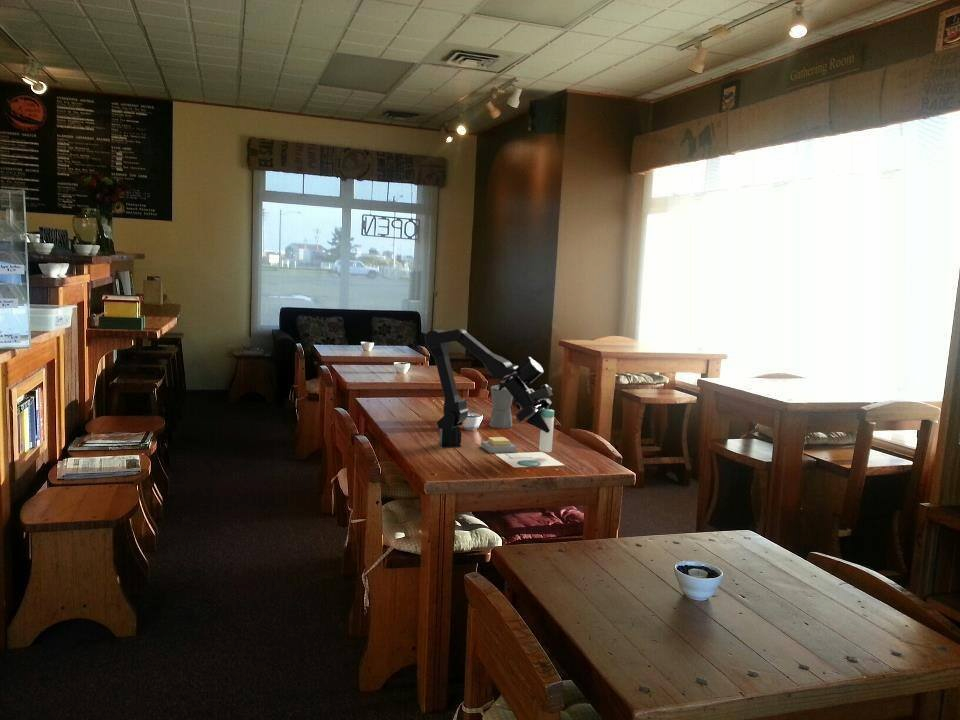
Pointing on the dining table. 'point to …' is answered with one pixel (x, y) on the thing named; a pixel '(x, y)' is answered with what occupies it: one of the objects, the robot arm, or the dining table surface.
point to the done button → (498, 441)
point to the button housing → (498, 448)
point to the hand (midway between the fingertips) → (550, 430)
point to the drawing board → (528, 459)
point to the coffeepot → (501, 408)
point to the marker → (544, 436)
